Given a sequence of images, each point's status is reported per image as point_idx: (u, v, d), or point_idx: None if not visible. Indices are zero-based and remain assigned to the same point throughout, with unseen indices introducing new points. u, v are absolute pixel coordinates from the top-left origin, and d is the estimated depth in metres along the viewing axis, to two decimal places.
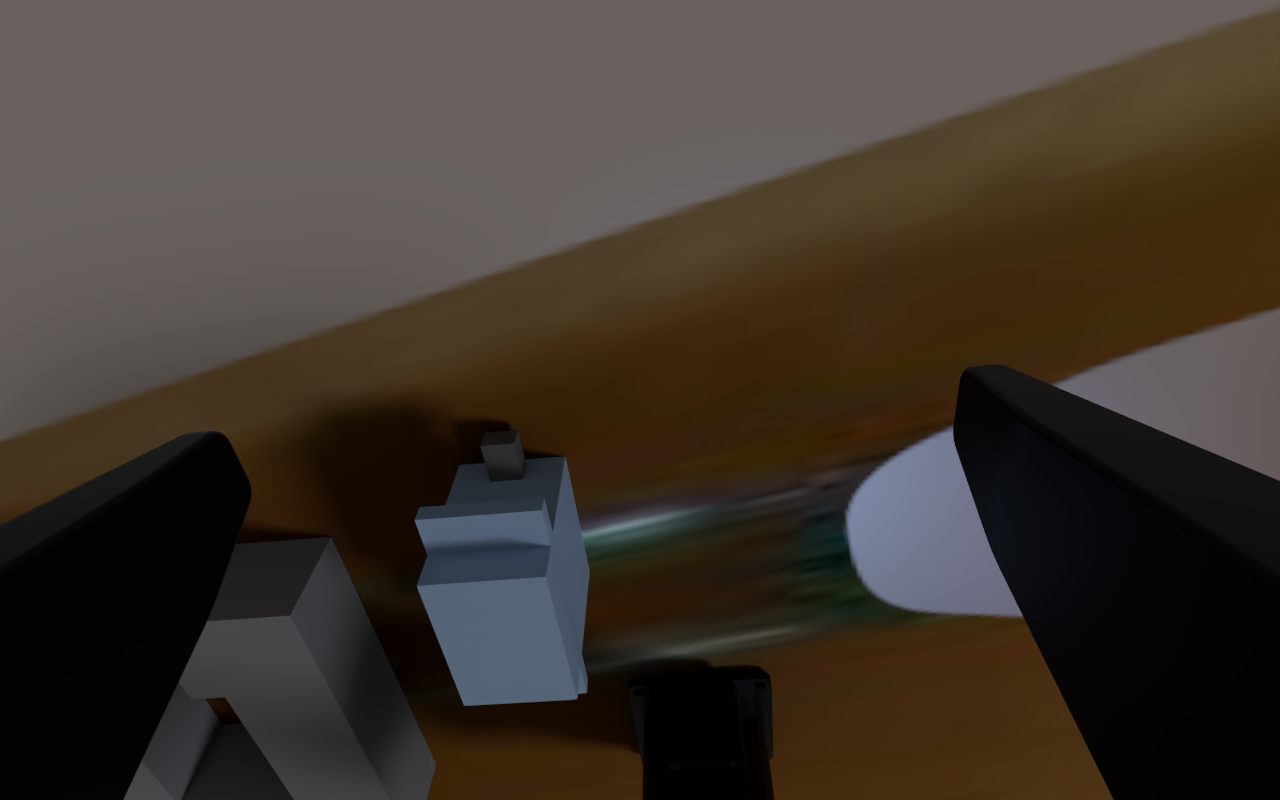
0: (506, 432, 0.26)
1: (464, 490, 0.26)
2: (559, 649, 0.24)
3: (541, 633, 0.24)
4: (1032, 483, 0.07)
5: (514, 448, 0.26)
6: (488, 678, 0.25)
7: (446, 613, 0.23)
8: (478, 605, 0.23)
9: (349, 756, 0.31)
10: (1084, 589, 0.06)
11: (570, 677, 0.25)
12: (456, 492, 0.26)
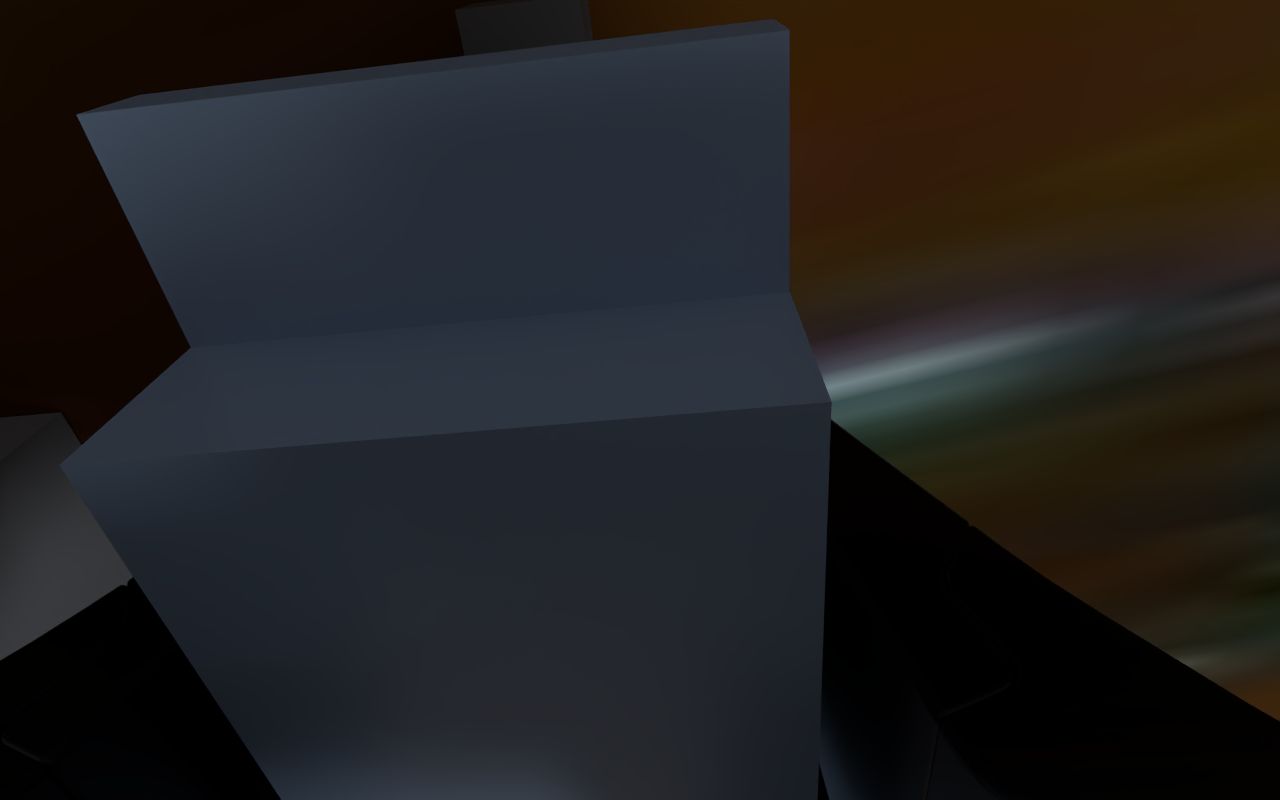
0: None
1: None
2: (795, 789, 0.05)
3: (730, 723, 0.05)
4: None
5: (580, 21, 0.07)
6: None
7: (262, 626, 0.05)
8: (424, 584, 0.04)
9: None
10: None
11: None
12: None
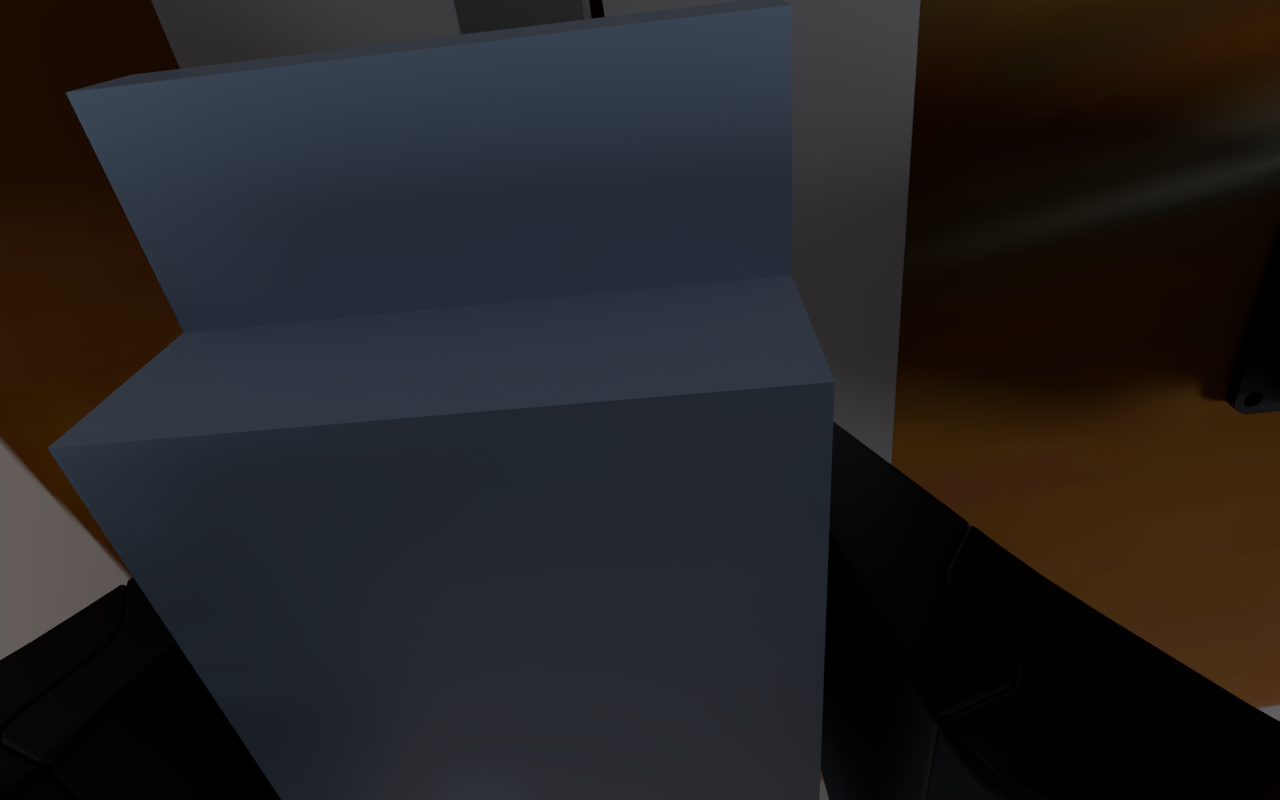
0: None
1: None
2: (796, 781, 0.05)
3: (730, 713, 0.05)
4: None
5: (579, 7, 0.07)
6: None
7: (255, 613, 0.04)
8: (419, 570, 0.04)
9: (870, 259, 0.16)
10: None
11: None
12: None
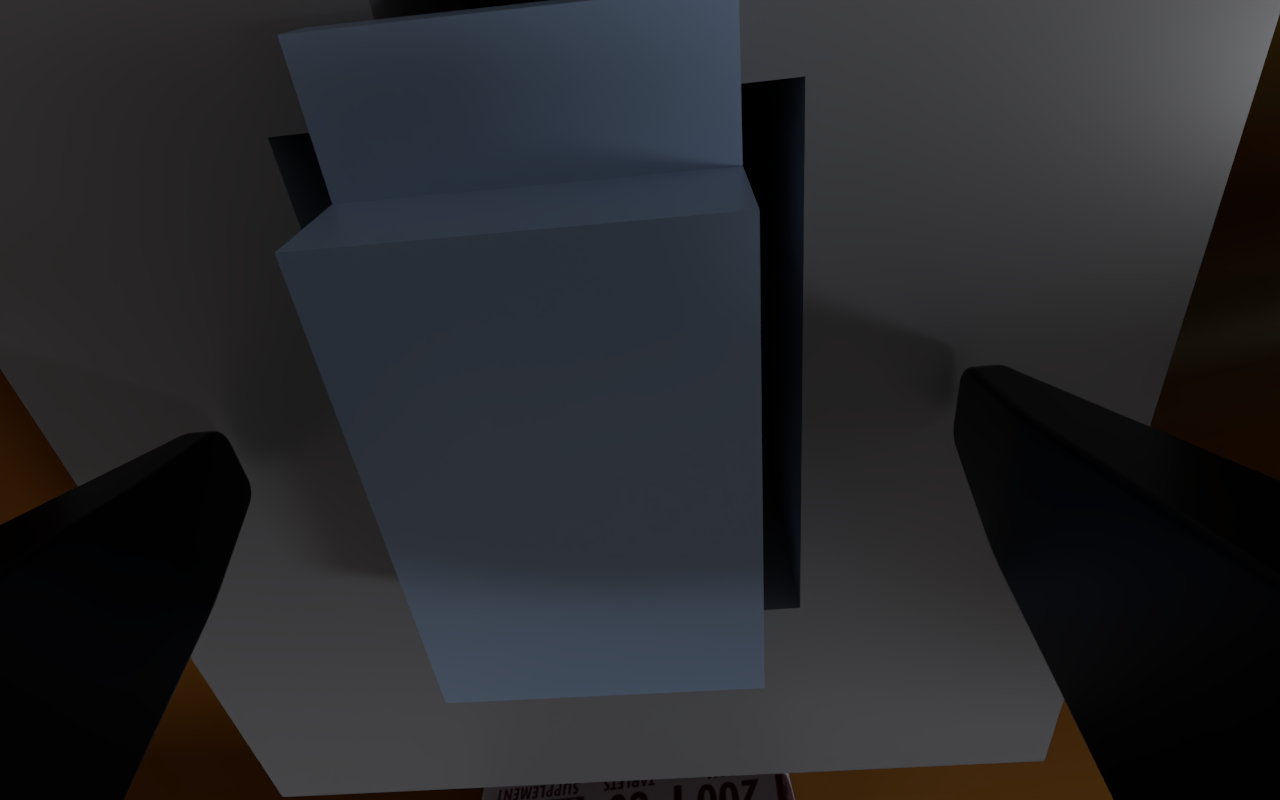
0: None
1: None
2: (746, 526, 0.08)
3: (700, 465, 0.07)
4: (1032, 483, 0.07)
5: None
6: (517, 622, 0.08)
7: (387, 381, 0.07)
8: (498, 346, 0.07)
9: None
10: (1084, 589, 0.06)
11: (759, 620, 0.08)
12: None
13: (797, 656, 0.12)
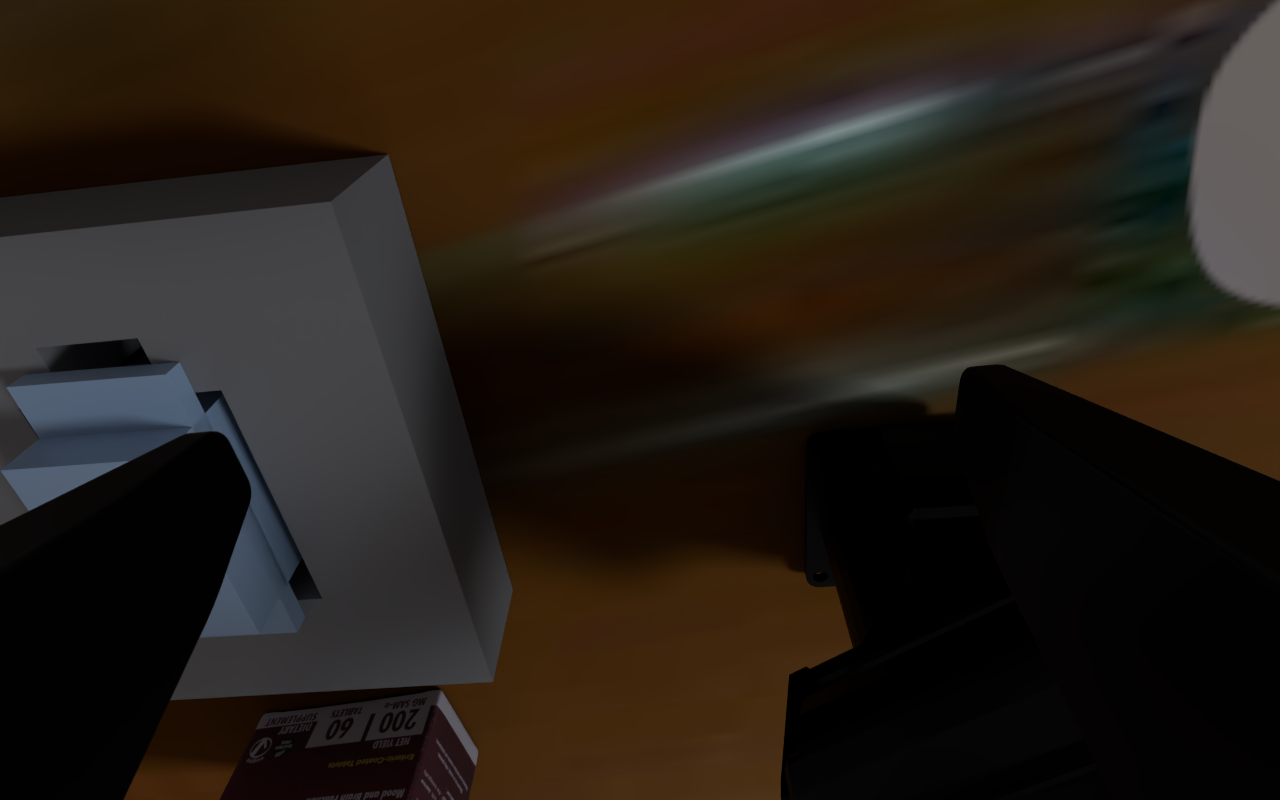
0: None
1: None
2: None
3: None
4: (1032, 483, 0.07)
5: None
6: None
7: None
8: None
9: (409, 512, 0.20)
10: (1084, 589, 0.06)
11: (240, 602, 0.20)
12: None
13: (333, 623, 0.23)
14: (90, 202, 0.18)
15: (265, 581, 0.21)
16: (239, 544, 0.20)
